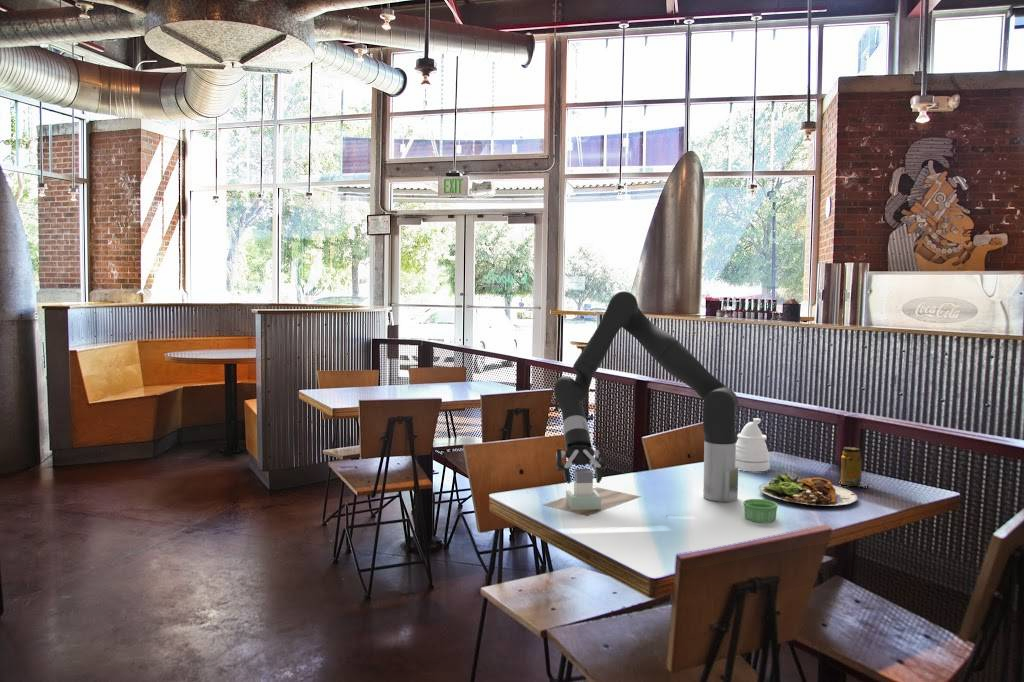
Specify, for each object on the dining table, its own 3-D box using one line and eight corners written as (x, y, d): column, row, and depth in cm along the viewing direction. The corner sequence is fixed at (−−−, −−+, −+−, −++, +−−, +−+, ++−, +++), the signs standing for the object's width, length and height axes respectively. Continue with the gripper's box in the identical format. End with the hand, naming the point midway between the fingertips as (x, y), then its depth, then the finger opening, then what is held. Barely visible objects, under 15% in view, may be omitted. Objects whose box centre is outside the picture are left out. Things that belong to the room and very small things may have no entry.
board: (640, 500, 222) (640, 496, 222) (587, 520, 202) (587, 515, 202) (596, 491, 232) (596, 487, 232) (542, 508, 212) (542, 504, 212)
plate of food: (739, 490, 235) (740, 471, 235) (810, 482, 245) (810, 464, 244) (802, 517, 209) (803, 496, 208) (878, 507, 218) (879, 487, 218)
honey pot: (775, 468, 266) (776, 418, 265) (760, 474, 256) (761, 422, 255) (741, 462, 274) (742, 414, 273) (725, 468, 265) (726, 418, 264)
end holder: (566, 502, 215) (566, 490, 215) (595, 501, 216) (595, 489, 216) (571, 509, 207) (571, 497, 207) (601, 509, 208) (601, 496, 208)
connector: (573, 503, 214) (574, 469, 213) (589, 502, 214) (589, 468, 214) (576, 507, 210) (577, 472, 209) (592, 507, 210) (592, 472, 209)
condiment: (840, 481, 247) (841, 445, 247) (868, 484, 243) (869, 447, 243) (838, 485, 241) (839, 449, 240) (867, 489, 237) (868, 451, 236)
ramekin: (775, 515, 208) (775, 499, 207) (779, 524, 199) (779, 508, 199) (741, 513, 210) (742, 497, 209) (744, 522, 201) (744, 506, 201)
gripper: (554, 427, 218) (560, 475, 207) (602, 426, 220) (610, 474, 209) (551, 442, 224) (557, 489, 213) (598, 441, 225) (606, 488, 214)
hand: (584, 481), depth 211 cm, fingers open, 8 cm apart
